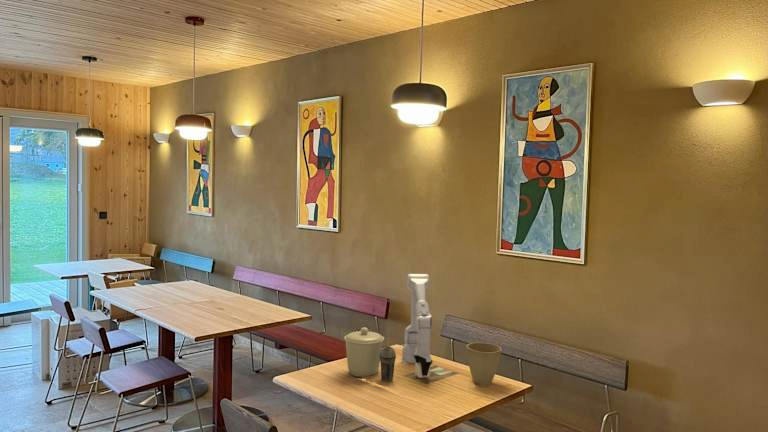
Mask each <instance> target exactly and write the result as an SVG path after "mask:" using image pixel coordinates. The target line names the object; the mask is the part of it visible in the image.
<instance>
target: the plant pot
mask: <svg viewBox="0 0 768 432" xmlns="http://www.w3.org/2000/svg"><path fill="white" fill-rule="evenodd" d="M466 354H467V361H468V366H469V371H470V374H471V378H472V380H473V382H475V383H474V384H475V385H476V386H479V387H480V386H481V387H488V386H491V384H492V382H493V380H494V378H495V375H496V373H497V369H498V366H499V363H500V359H501V355H502V347H500V346H499V345H497V344H493V343H490V342H488V343H487V342H471V343H468V344H466Z"/></svg>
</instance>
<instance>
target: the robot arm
mask: <svg viewBox="0 0 768 432" xmlns="http://www.w3.org/2000/svg"><path fill="white" fill-rule="evenodd" d="M406 279H407V280H406V283H407V284H406V287H407V290H408V291H409V292H410V293H411V304H410V305H411V306H410V307H411V308H410V309H411V310H410V312H411V313H410V324H409V325H408V326H407V327H405V329H404V343H405V344H403V346H402V352H401V353H402V354H401V356H402V357H401V361H400V363H409V364H415V363H420V364H421V369H422V375H423V376H427V374H428V371H429V368H430V367H431V366H432V363H433V360H432V357H431V352H430V351H431V349H430V347H431V329H432V327H433V318H432V314H431V313H430V307H429V303H428V302H427V301H426V290H427V289H428V287H430V286H429V285H430V277H429V274H428V273H408V274H407V277H406Z"/></svg>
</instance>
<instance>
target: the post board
mask: <svg viewBox="0 0 768 432" xmlns="http://www.w3.org/2000/svg"><path fill="white" fill-rule="evenodd" d="M458 374H459V372H457V371H453V370H450V369H447V368H443V367H440V366H437V365H433V366H432V365H431V366H430V377H421V378H419V377H418V376H417V375H416V374H415V371H414V372H411V373H408V374H405V375H403V377H405V378H408V379H411V380H413V381H416V382H419V383H422V384H426V385H429V384H432V383H435V382H438V381H441V380H444V379H446V378H448V377H449V378H450V377H452V376H455V375H458Z"/></svg>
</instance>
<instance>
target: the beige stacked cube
mask: <svg viewBox="0 0 768 432" xmlns="http://www.w3.org/2000/svg"><path fill="white" fill-rule="evenodd" d="M414 364H415V365H414V366H415V367H414V372H415V374H416V375H417V376H418V377H419V378H421V377H430V368H429V371H428V374H427V376H423V375H422V369H421V364H420V363H414Z"/></svg>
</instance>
